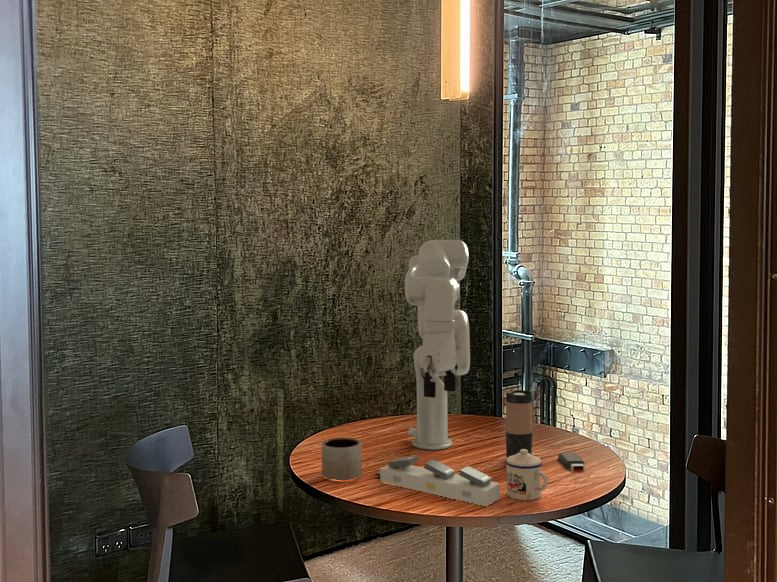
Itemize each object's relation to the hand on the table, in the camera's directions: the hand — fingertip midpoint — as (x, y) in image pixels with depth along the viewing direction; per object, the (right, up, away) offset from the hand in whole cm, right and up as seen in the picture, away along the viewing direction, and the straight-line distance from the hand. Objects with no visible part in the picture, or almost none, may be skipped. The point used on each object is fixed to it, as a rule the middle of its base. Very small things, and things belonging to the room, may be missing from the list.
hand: (440, 393), depth 197 cm
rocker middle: (0, -20, +1) cm, 20 cm away
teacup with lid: (+22, -26, -4) cm, 34 cm away
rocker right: (+8, -20, -6) cm, 23 cm away
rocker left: (-9, -20, +7) cm, 23 cm away
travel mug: (+25, -23, +27) cm, 44 cm away
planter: (-26, -25, +14) cm, 38 cm away
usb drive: (+39, -24, +22) cm, 51 cm away
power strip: (-2, -25, +2) cm, 25 cm away
